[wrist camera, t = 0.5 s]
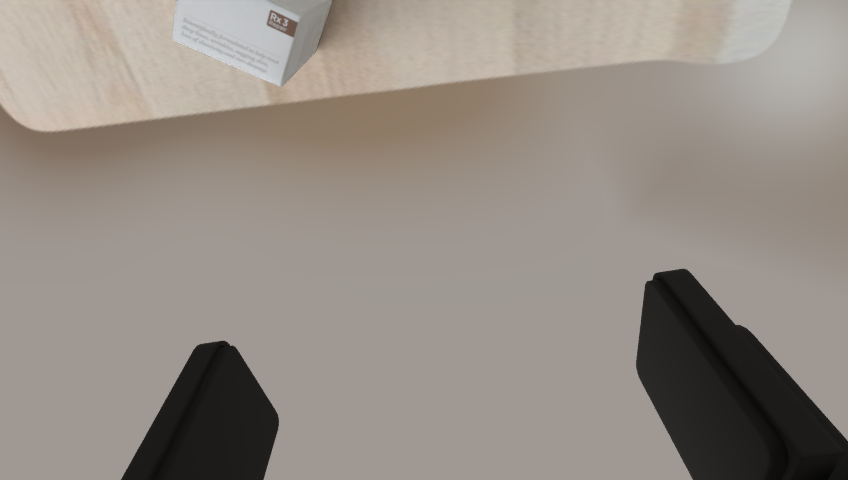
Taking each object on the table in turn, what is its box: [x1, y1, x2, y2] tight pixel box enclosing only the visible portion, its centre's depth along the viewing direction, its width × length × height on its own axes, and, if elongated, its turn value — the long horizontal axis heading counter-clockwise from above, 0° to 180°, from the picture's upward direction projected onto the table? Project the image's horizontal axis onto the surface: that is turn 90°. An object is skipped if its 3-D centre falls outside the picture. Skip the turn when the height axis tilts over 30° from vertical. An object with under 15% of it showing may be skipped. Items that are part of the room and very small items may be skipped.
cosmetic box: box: [172, 0, 332, 87], centre depth 27 cm, size 6×4×12 cm
